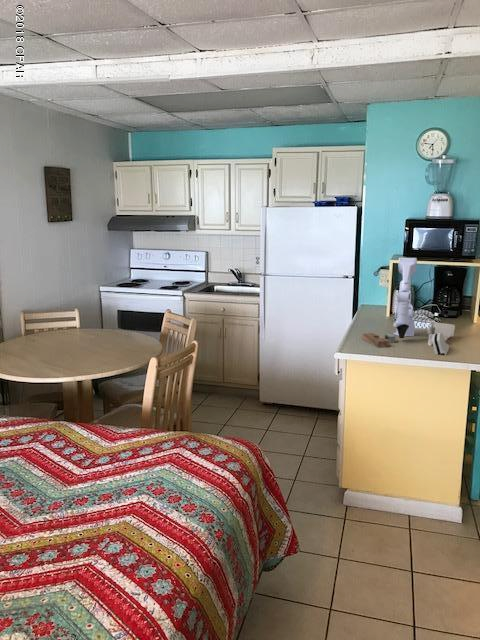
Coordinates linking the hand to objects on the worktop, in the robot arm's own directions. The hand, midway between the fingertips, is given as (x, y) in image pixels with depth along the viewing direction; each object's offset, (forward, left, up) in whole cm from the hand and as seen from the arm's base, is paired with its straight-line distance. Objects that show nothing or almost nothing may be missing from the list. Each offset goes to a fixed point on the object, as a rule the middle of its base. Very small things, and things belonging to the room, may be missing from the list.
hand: (401, 338), depth 289 cm
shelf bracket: (-21, +5, -2) cm, 21 cm away
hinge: (-9, +22, -2) cm, 24 cm away
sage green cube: (+7, 0, -2) cm, 7 cm away
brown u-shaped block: (+15, 0, -2) cm, 16 cm away
